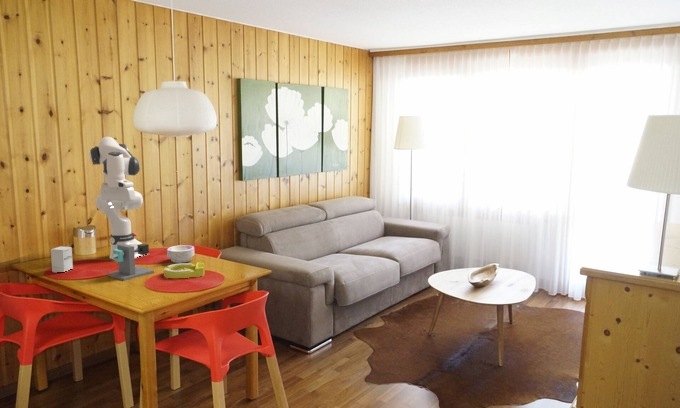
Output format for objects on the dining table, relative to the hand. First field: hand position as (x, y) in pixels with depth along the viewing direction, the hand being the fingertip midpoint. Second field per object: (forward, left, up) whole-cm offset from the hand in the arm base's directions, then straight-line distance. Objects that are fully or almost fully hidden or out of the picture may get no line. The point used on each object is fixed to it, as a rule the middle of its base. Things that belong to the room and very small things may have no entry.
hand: (117, 208), depth 285 cm
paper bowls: (-32, +10, -34) cm, 48 cm away
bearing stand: (+1, +10, -34) cm, 35 cm away
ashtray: (-15, +33, -34) cm, 50 cm away
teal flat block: (+8, +10, -25) cm, 28 cm away
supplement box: (+19, -24, -34) cm, 46 cm away
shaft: (+1, +10, -24) cm, 26 cm away
